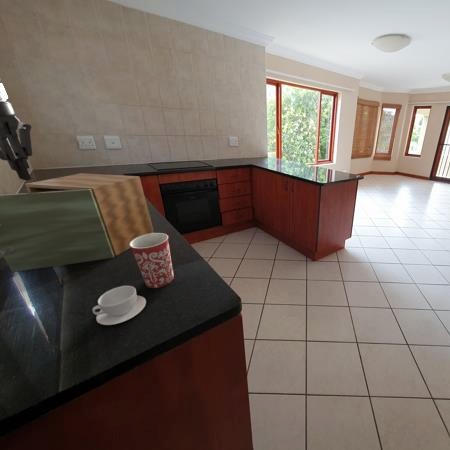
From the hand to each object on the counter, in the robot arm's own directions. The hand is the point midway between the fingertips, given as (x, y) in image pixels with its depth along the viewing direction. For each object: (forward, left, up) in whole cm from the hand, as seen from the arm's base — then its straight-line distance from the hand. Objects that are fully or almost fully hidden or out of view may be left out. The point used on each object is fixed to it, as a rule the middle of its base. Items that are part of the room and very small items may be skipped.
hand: (25, 178), depth 78 cm
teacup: (+52, -24, -25) cm, 63 cm away
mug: (+52, -10, -25) cm, 59 cm away
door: (+18, -12, -25) cm, 33 cm away
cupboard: (+15, +7, -25) cm, 30 cm away
